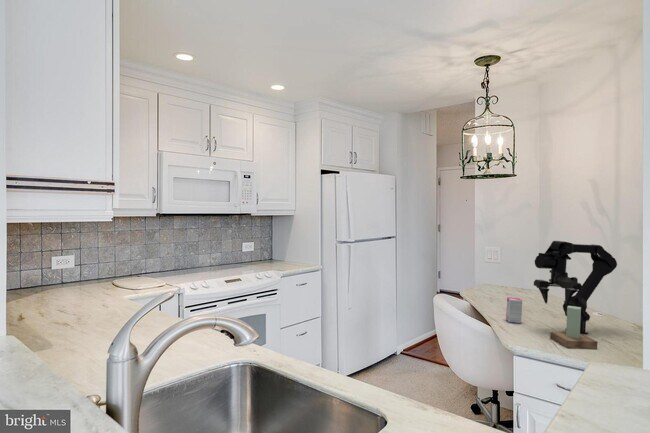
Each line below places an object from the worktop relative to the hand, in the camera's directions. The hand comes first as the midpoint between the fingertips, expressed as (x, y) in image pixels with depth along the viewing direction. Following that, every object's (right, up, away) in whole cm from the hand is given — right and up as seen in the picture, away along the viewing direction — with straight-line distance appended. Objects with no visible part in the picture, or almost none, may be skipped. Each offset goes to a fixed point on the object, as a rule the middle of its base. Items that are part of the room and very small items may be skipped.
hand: (556, 303), depth 181 cm
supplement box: (-11, -13, +16) cm, 24 cm away
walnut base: (-2, -13, -15) cm, 20 cm away
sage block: (-2, -10, -15) cm, 18 cm away
